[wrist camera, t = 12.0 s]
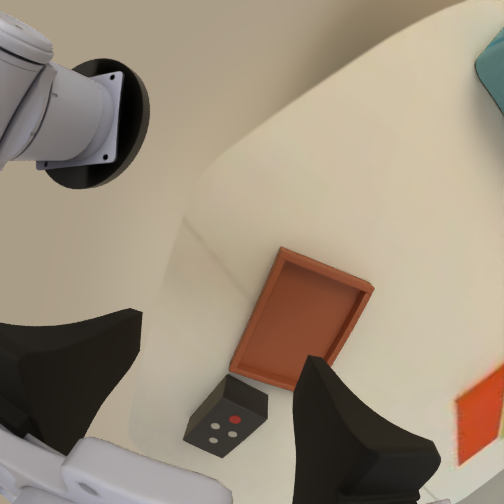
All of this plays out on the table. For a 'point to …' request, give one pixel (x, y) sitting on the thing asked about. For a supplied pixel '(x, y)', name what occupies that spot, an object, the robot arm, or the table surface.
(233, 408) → the remote
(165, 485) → the robot arm
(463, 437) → the table surface
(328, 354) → the dish
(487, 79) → the data package
